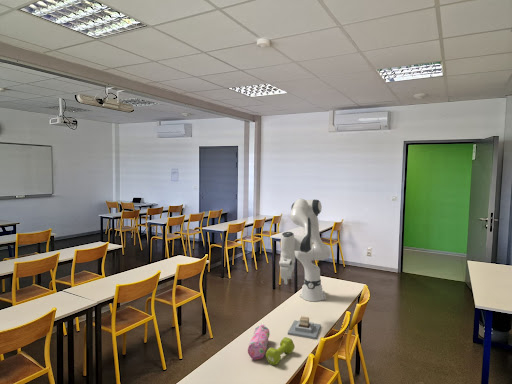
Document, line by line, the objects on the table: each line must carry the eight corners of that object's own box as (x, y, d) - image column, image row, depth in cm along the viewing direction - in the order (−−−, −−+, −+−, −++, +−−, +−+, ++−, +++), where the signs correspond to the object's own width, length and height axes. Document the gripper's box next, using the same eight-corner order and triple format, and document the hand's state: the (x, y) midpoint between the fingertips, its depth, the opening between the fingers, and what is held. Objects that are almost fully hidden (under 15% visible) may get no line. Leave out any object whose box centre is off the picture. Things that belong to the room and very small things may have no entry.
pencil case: (254, 338, 180) (254, 322, 180) (270, 339, 179) (270, 323, 178) (246, 360, 159) (246, 342, 159) (264, 362, 158) (264, 344, 157)
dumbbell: (277, 368, 152) (277, 353, 152) (264, 362, 157) (263, 348, 157) (296, 353, 165) (296, 339, 165) (283, 348, 170) (283, 334, 170)
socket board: (294, 322, 199) (294, 317, 199) (320, 326, 193) (320, 321, 193) (287, 334, 184) (287, 328, 184) (315, 339, 178) (315, 333, 178)
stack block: (301, 325, 192) (301, 315, 191) (309, 327, 190) (309, 317, 190) (299, 329, 187) (299, 319, 187) (307, 330, 186) (307, 320, 185)
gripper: (287, 254, 208) (287, 275, 209) (278, 263, 189) (278, 286, 190) (296, 255, 206) (296, 276, 207) (288, 264, 187) (288, 287, 188)
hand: (287, 281), depth 198 cm, fingers open, 8 cm apart
